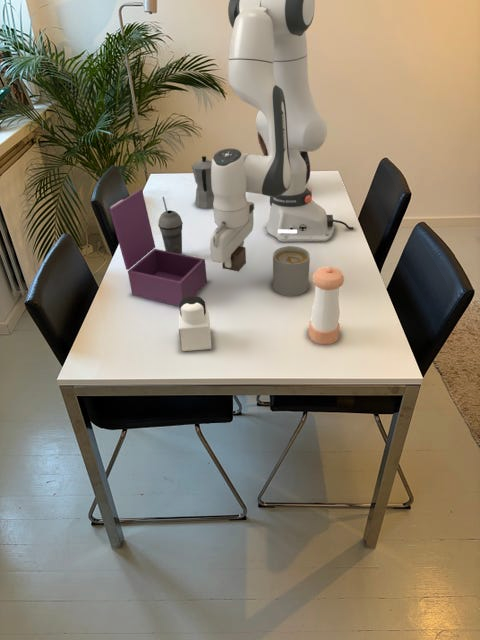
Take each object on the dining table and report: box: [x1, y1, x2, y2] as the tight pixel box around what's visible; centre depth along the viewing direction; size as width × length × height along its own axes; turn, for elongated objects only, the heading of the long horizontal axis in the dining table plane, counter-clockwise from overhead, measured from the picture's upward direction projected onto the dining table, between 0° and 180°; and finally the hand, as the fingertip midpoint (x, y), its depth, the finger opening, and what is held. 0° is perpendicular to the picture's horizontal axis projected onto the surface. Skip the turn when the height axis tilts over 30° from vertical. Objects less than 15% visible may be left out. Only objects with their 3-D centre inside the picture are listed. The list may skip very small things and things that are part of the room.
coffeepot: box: [191, 155, 214, 210], centre depth 182 cm, size 15×9×18 cm, turn 1°
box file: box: [127, 248, 208, 308], centre depth 140 cm, size 17×14×8 cm
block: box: [221, 246, 247, 273], centre depth 138 cm, size 5×5×5 cm
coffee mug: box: [272, 245, 311, 297], centre depth 140 cm, size 13×10×10 cm
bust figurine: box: [178, 295, 212, 352], centre depth 119 cm, size 7×7×12 cm
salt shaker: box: [308, 266, 345, 345], centre depth 117 cm, size 7×7×19 cm
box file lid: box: [109, 188, 156, 271], centre depth 136 cm, size 18×14×5 cm
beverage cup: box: [157, 196, 184, 254], centre depth 151 cm, size 7×7×20 cm
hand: (234, 260), depth 139 cm, fingers closed on block, 5 cm apart
